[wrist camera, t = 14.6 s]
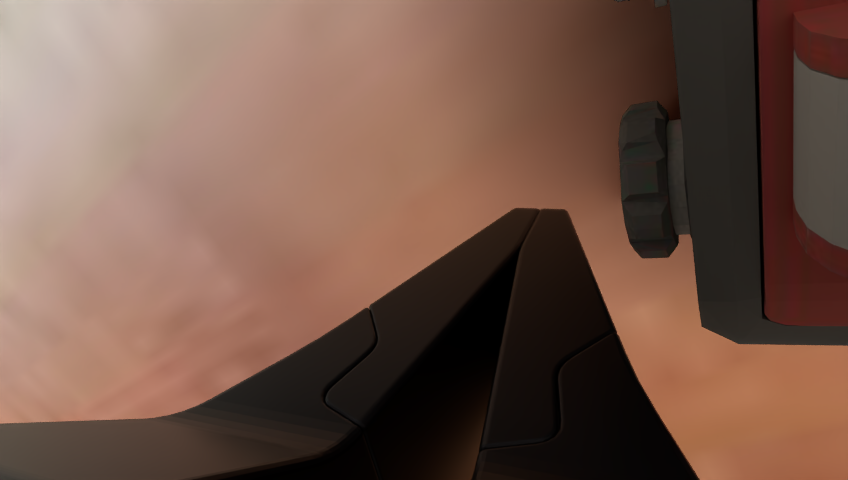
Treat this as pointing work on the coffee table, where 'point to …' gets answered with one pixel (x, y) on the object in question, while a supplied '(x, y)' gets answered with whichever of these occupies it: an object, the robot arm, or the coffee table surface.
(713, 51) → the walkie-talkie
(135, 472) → the robot arm
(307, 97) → the coffee table surface
